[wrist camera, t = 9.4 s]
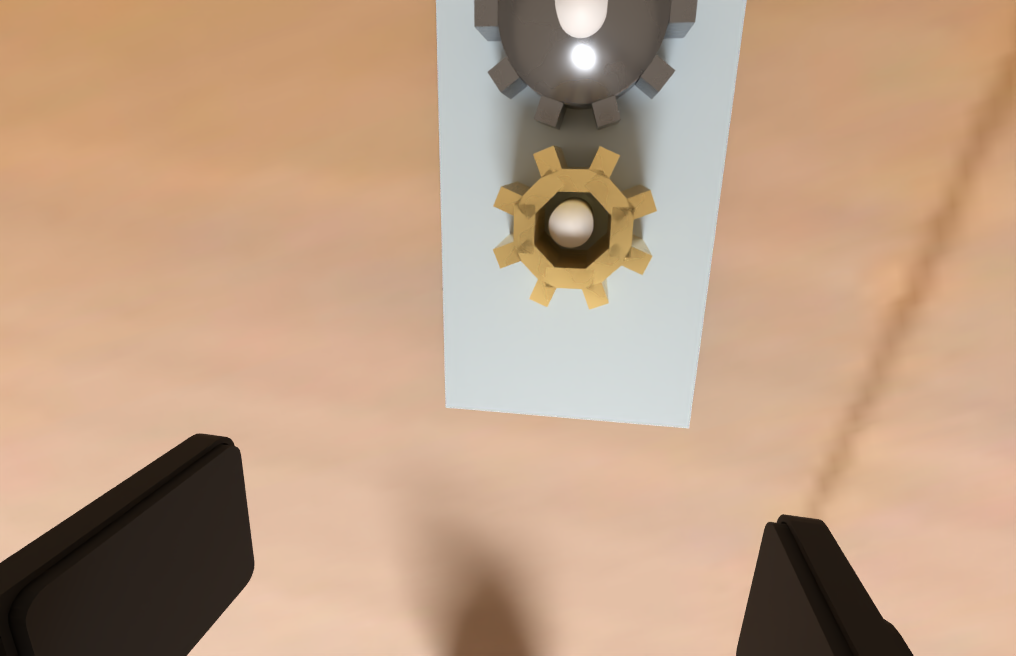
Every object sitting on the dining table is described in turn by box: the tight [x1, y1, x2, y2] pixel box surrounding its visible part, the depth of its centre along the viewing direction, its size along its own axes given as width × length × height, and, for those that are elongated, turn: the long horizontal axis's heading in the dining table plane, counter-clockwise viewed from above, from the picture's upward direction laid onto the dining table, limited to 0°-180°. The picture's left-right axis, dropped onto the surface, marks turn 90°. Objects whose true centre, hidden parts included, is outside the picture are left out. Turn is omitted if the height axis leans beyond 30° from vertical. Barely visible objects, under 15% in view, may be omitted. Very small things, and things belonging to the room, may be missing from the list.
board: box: [436, 0, 746, 428], centre depth 25 cm, size 14×26×6 cm, turn 179°
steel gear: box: [474, 0, 698, 130], centre depth 23 cm, size 9×9×3 cm
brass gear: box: [493, 145, 657, 310], centre depth 25 cm, size 7×7×5 cm
